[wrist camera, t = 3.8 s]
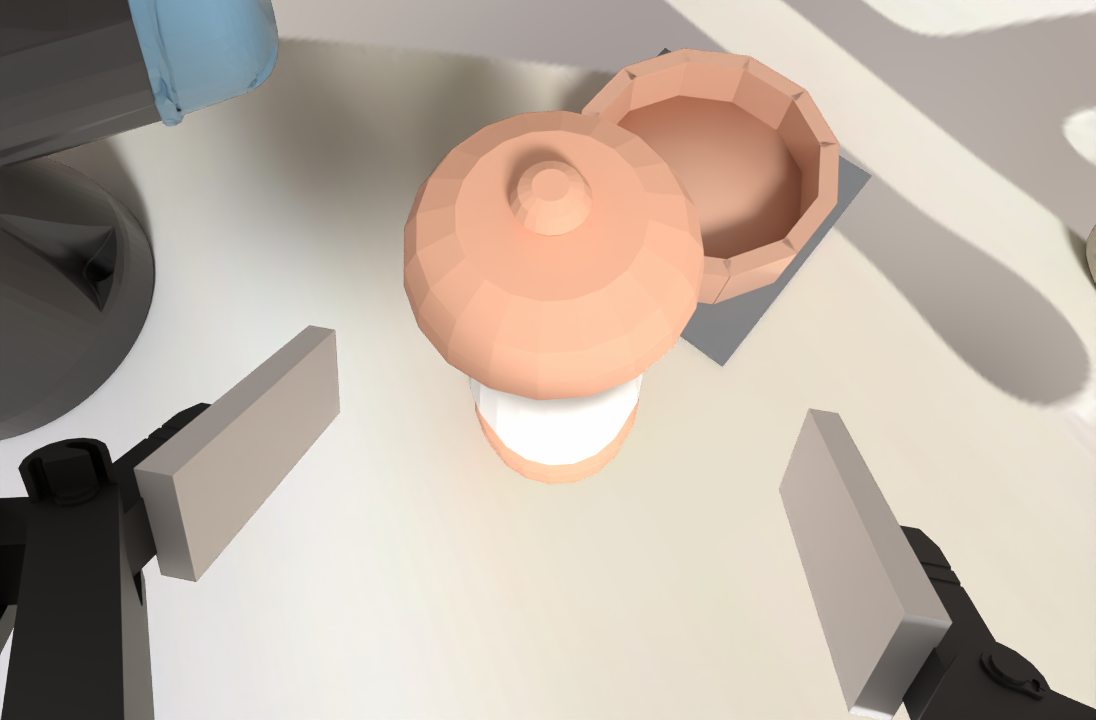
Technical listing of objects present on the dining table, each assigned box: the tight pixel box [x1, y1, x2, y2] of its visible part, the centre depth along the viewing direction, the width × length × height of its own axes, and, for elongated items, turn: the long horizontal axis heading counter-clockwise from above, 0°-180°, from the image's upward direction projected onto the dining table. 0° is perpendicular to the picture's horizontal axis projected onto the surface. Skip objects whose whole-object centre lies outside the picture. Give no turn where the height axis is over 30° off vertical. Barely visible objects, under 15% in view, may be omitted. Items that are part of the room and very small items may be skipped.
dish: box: [581, 48, 839, 304], centre depth 31 cm, size 13×13×3 cm
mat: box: [657, 48, 871, 366], centre depth 33 cm, size 14×14×1 cm
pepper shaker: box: [404, 110, 705, 484], centre depth 21 cm, size 7×7×19 cm
